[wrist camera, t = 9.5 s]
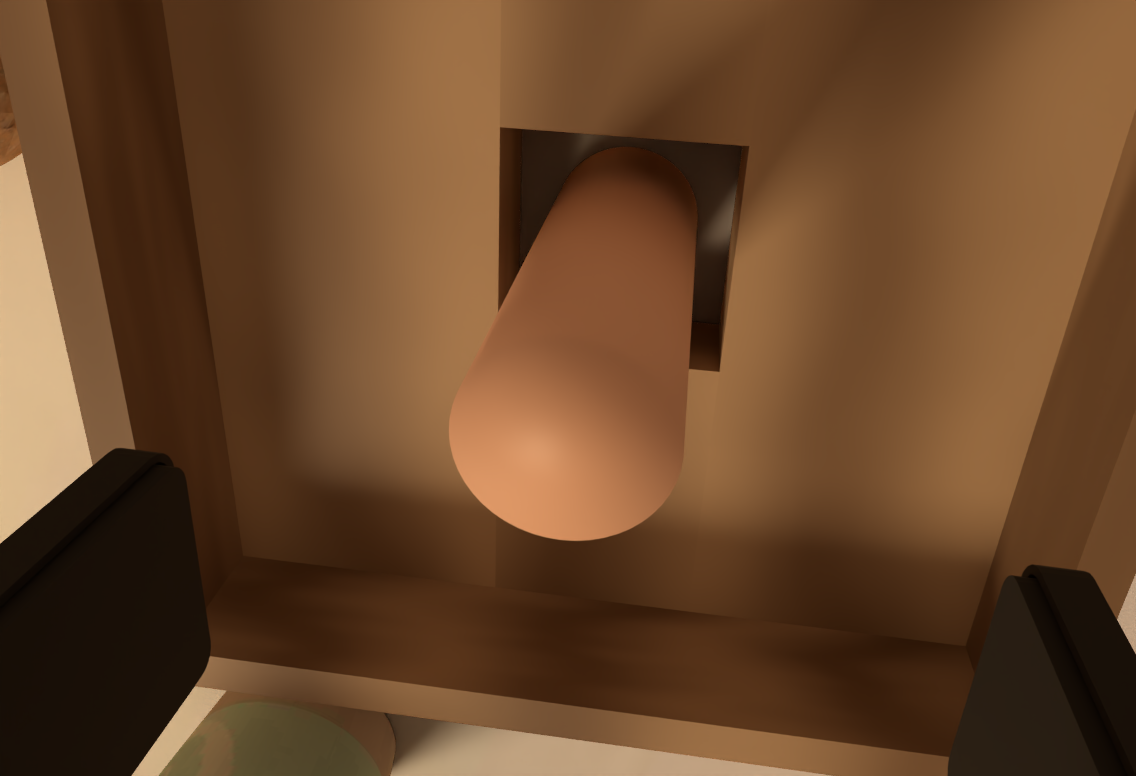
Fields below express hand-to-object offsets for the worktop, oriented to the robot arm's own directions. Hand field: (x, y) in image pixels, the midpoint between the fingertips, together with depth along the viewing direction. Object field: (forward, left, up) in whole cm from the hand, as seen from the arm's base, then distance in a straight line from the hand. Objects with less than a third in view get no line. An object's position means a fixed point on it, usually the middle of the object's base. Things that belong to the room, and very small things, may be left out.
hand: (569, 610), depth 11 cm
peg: (0, -1, -13) cm, 13 cm away
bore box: (0, -1, -13) cm, 13 cm away
